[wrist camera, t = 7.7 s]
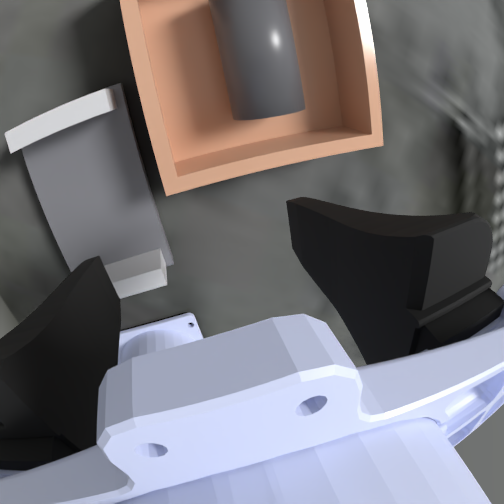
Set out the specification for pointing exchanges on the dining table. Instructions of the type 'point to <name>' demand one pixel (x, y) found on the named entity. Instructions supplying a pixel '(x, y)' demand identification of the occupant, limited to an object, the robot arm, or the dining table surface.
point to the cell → (258, 57)
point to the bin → (217, 100)
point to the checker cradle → (96, 188)
